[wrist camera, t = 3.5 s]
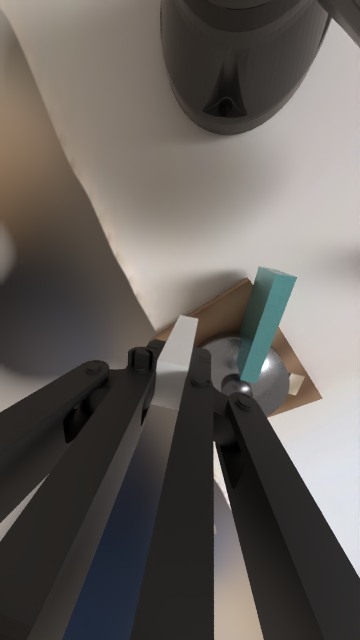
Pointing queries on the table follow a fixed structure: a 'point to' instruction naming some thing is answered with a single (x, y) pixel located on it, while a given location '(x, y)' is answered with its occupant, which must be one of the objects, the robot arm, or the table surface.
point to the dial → (254, 345)
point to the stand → (228, 318)
